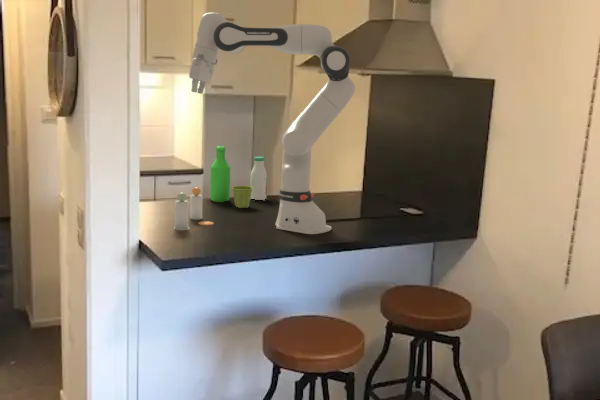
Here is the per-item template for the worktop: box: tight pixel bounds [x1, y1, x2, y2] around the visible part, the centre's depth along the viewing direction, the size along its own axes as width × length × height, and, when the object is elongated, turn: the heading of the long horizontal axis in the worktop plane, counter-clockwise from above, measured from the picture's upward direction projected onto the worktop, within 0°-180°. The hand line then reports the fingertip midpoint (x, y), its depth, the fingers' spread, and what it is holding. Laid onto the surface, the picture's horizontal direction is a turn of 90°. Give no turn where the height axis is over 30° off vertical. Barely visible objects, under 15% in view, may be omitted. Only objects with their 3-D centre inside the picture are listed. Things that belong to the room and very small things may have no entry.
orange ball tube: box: [189, 186, 203, 221], centre depth 252 cm, size 5×5×13 cm
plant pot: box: [231, 185, 253, 209], centre depth 283 cm, size 9×9×9 cm
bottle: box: [209, 145, 231, 203], centre depth 292 cm, size 9×9×25 cm
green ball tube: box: [174, 191, 190, 231], centre depth 235 cm, size 5×5×13 cm
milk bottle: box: [249, 156, 268, 201], centre depth 300 cm, size 8×8×20 cm
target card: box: [173, 221, 214, 231], centre depth 241 cm, size 10×20×1 cm, turn 141°
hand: (196, 92), depth 243 cm, fingers open, 8 cm apart
